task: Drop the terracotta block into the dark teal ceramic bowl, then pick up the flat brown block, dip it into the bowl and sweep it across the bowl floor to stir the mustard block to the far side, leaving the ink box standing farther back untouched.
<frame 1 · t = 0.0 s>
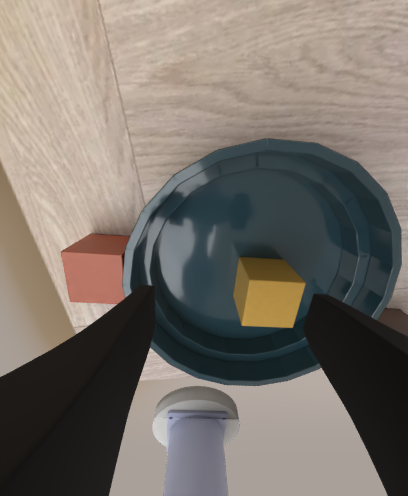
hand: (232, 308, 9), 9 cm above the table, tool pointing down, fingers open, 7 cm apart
mustard block: (257, 277, 19), point 1 cm above the table, touching bowl
bowl: (247, 264, 19), on the table
terracotta block: (116, 256, 18), on the table
flat brown block: (373, 315, 21), on the table
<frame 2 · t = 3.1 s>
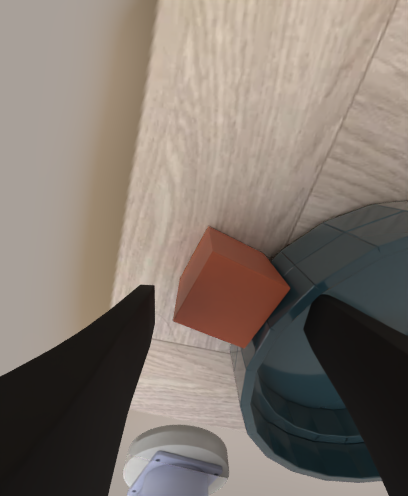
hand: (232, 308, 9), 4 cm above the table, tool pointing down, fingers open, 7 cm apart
bowl: (357, 329, 15), on the table
terracotta block: (221, 266, 13), on the table
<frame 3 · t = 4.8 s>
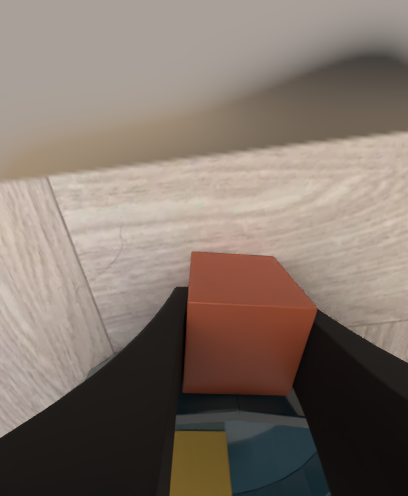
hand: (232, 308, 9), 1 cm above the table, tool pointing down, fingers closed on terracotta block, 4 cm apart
mustard block: (194, 447, 15), point 1 cm above the table, touching bowl
bowl: (209, 428, 15), on the table
terracotta block: (228, 289, 11), on the table, touching gripper
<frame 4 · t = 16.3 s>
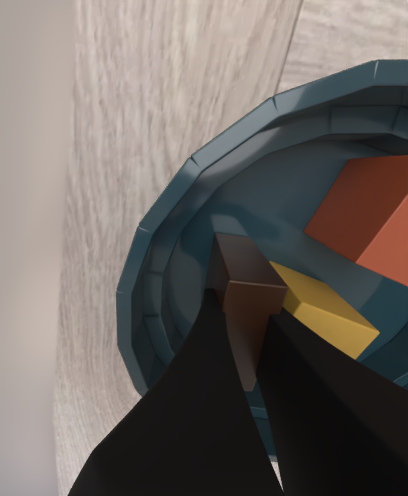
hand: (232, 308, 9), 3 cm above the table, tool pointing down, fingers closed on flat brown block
mustard block: (280, 298, 13), point 1 cm above the table, touching gripper
bowl: (296, 284, 13), on the table
terracotta block: (355, 212, 11), point 1 cm above the table, touching bowl
flat brown block: (223, 275, 12), point 1 cm above the table, touching bowl, gripper
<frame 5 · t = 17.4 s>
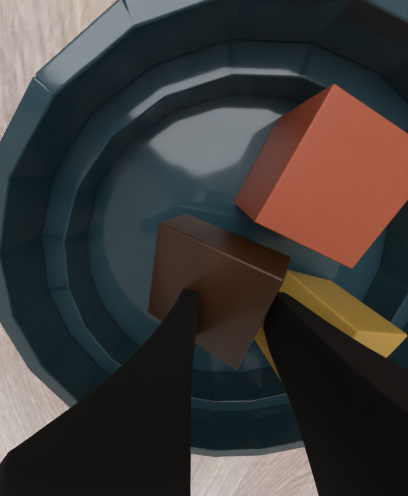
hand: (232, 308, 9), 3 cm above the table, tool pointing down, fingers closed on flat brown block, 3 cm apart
mustard block: (289, 303, 12), point 1 cm above the table, tilted 18°, touching gripper
bowl: (235, 264, 12), on the table
terracotta block: (289, 182, 10), point 1 cm above the table, touching bowl
flat brown block: (165, 264, 10), point 2 cm above the table, tilted 62°, touching bowl, gripper
when the fingers open (3 cm above the table, at t = 18.0 s): flat brown block stays where it is and tips over, resting on bowl, mustard block.
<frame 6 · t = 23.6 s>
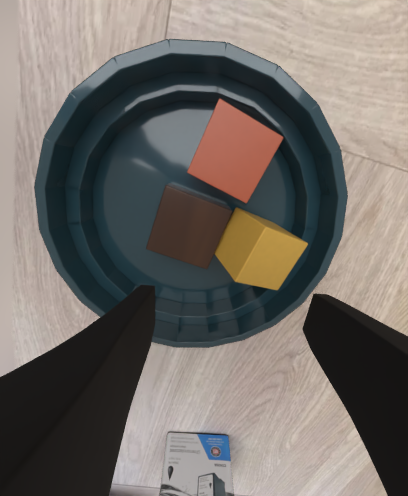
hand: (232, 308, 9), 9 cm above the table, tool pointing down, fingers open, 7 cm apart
mustard block: (243, 237, 17), point 1 cm above the table, tilted 19°, touching bowl, flat brown block
ink box: (196, 441, 29), on the table
bowl: (195, 218, 17), on the table
terracotta block: (225, 158, 15), point 1 cm above the table, touching bowl
flat brown block: (157, 215, 16), point 2 cm above the table, tilted 90°, touching bowl, mustard block
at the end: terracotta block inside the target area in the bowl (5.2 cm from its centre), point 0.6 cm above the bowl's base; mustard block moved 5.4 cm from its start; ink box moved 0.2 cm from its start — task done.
